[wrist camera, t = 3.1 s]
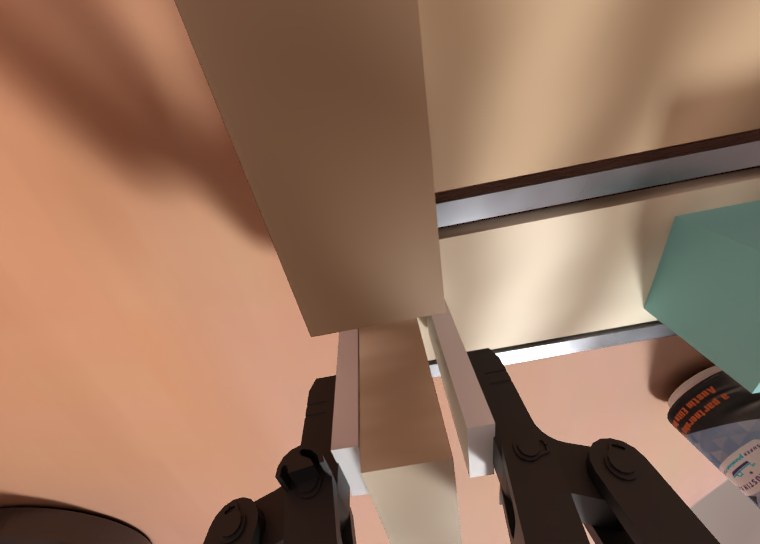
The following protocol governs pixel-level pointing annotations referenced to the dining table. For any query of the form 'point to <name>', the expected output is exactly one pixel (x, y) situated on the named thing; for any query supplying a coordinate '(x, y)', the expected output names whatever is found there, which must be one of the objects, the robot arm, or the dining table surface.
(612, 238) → the beige long angled piece
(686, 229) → the block
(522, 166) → the strip oak
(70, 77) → the dining table surface
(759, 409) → the beverage can
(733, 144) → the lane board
